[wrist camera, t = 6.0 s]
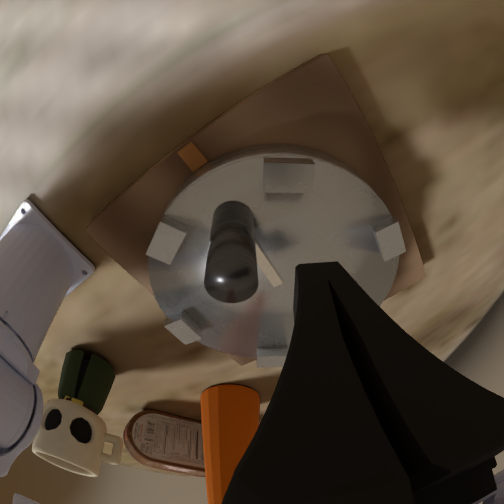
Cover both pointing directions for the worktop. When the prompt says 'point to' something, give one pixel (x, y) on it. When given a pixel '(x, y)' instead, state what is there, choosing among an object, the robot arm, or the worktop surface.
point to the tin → (166, 442)
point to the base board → (251, 134)
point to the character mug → (78, 418)
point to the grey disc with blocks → (264, 245)
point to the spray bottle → (226, 433)
